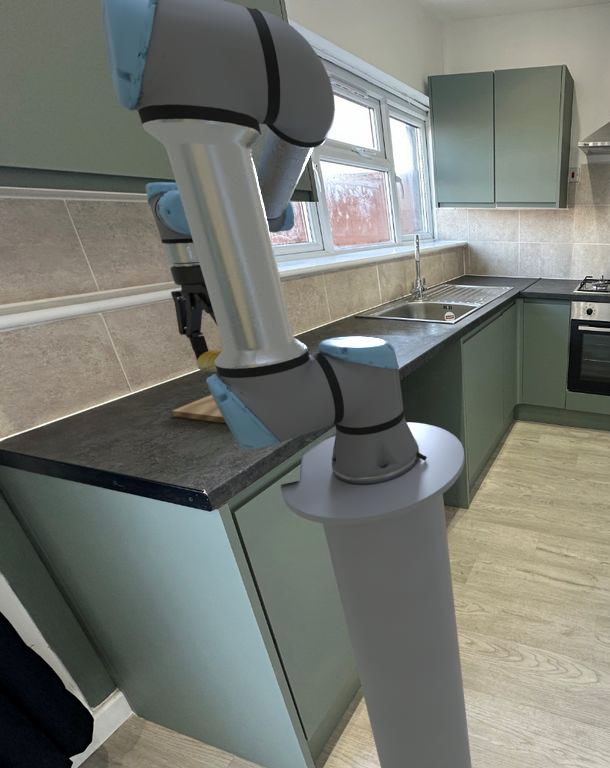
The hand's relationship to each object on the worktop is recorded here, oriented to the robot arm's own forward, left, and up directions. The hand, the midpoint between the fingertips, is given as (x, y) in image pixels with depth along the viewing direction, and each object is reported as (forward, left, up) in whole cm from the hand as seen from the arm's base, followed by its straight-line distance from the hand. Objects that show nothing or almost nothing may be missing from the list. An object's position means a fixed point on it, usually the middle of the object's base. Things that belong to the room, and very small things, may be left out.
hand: (221, 365), depth 96 cm
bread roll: (0, 0, 0) cm, 1 cm away
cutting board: (0, 0, -11) cm, 11 cm away
